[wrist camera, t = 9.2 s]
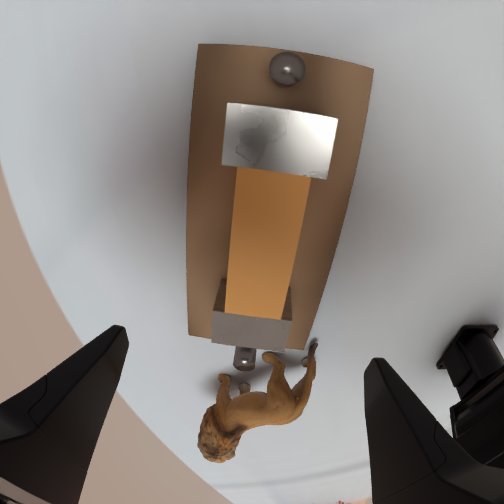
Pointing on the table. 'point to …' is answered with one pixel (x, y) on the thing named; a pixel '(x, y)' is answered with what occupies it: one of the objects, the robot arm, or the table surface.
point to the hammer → (267, 217)
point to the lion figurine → (253, 408)
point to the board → (224, 177)
